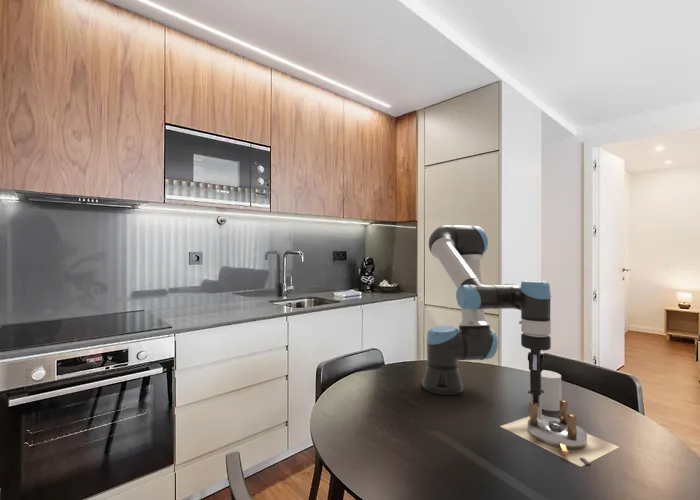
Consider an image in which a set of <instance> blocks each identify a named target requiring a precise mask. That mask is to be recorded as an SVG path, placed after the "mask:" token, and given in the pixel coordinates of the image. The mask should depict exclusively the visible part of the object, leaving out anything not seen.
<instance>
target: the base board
mask: <svg viewBox="0 0 700 500" xmlns="http://www.w3.org/2000/svg"><path fill="white" fill-rule="evenodd" d="M542 417H547V416H546V415H544V414H542ZM529 419H530V415H528V416H526V417H523V418H520V419H517V420H514V421H511V422H508V423H505V424H502V425H500V426H499V427H501V428H502V429H504V430H506V431H509V432H510V433H513V434H514V435H517V436H518V437H520V438H522V439H524V440H527V441H529V442H530V443H532V444H534V445H536V446H538V447H540V448H542V449H544V450H546V451H547V452H550V453H552V454H554V455H556V456H558V457H560V458H562V459H564V460H565V461H567V462H569V463H572V464H574V465H575V466H578V467H580V468H582V467H584V466H591V462H593V461H595V460H597V459H600V458H602V457H603V456H605V455H608V454H609V453H611V452H613V451H615V450H617V449H619V448H620V446H619V445H615V444H614V443H611V442H609V441H606V440H604V439H601V438H599V437H597V436H594V435H592V434H589V433H587V432H586V434H587V445H586V446H585V447H583V448H580V449H567V450H568V455H567V454H563V453H562V451H561V448H559V447H555V446H551V445H548V444H546V443H543V442H541V441H539V440H537V439H536V438H534V437H533V436H532V435H531V434H530V433H529V432H528V420H529Z"/></svg>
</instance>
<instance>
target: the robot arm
mask: <svg viewBox="0 0 700 500" xmlns="http://www.w3.org/2000/svg"><path fill="white" fill-rule="evenodd" d="M488 246H489V239H488V235H487V233H486V231H485V230H484V229H483V228H482V227H481V226H478V225H470V224H469V225H448V224H445V225H441V226H439V227H437V228H436V229H435V230H433V232H431V235H430V236H429V238H428V248H429V251H430V253H431V255H432V256H433V258H435V259H438V260H439V263H440V264H441V265H442V267H443V269H444V270H445V272H446V273H447V275H448V276H449V278H450V279H451V281H452V282H453V284H454V285H455V287H456V292H455V296H456V297H455V298H456V300H457V301H456V302H457V305H458V307H460V308H461V319H462V320H461V322H460V323H459V324H458V327H457V326H454V325H439V326H434V327H432V328H430V329H428V330H427V334H426V336H427V337H426V366H427V367H426V370H425V372H424V377H423V378H422V388H423V389H424V390H425V391H427V392H429V393H432V394H434V395H435V394H436V395H441V396H455V395H459V394H461V393H462V392H463V391H464V383H463V381H462V378H461V374H460V372H459V371H460V370H459V361H484V360H490V359H493V358H494V356H495V355H496V353H497V352H498V347H499V339H498V336H497V335H496V334H497V333H496V332H495V330H494V329H492V328H491V326H490V323H488V321H486V315H485V310H489V309H491V310H498V309H500V310H501V309H502V310H503V309H504V310H505V309H512V310H513V309H514V310H518V311H520V315H521V316H520V318H521V320H519V321H518V324H519V325H521V326H520V328H521V329H520V330H521V332H522V333H521V334H520V339H521V341H520V343H521V344H520V345H521V346H522V347H523V348H525V349H528V350H530V351H529V352H528V354H527V360H528V370H529V378H530V379H529V381H530V383H529V385H530V387H529V388H530V390H527V393H528V394H530V402H536V403H537V404H538V417H539V418H541V417H542V415H543V413H542V412H543V411H542V410H543V409H542V400H541V393H544V390H541V387H542V385H541V372H542V370H544V369H543V367H544V360H545V359H544V358H545V357H544V356H545V355H544V353H541V351H549V350H550V349H551V346H552V344H551V341H552V340H551V339H552V337H551V336H550V335H551V334H552V325H551V324H552V320H551V298H552V295H551V286H550V283H549V282H548V281H545V280H534V279H533V280H531V279H530V280H529V279H528V280H522V281H521V283H520V285H518V284H514V283H503V284H483V283H482V274H481V262H480V261H481V260H482V259H483V258H484V253H486V252H487V250H488Z"/></svg>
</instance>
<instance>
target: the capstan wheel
mask: <svg viewBox="0 0 700 500" xmlns="http://www.w3.org/2000/svg"><path fill="white" fill-rule="evenodd" d="M529 416H530V419H529V420H528V432H529V433H530V434H531V435H532V436H533V437H534V438H536V439H537V440H539V441H541V442H543V443H546V444H548V445H551V446H555V447H559V448H561V451H562V453H563V454H567V455H568V450H567V449H580V448H583V447H585V446H586V445H587V434H588V433H587V432H586V431H585V429H583V428H582V427H581V426H579V425H577V415H576V414H574V413H569V401H568V400H566V399H562V400H560V411H559V418H557V417H551V416H546V417H541V418H539V417H538V404H537V403H536V402H531V401H529ZM586 433H587V434H586Z"/></svg>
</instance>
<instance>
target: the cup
mask: <svg viewBox="0 0 700 500" xmlns="http://www.w3.org/2000/svg"><path fill="white" fill-rule="evenodd" d="M541 385H542V387H541V390H544V393H541V400H542V410H544V411H548V412H560V400H563V398H562V396H563V395H562V393H563V392H562V375H561V374H560V373H558V372H555V371H552V370H546V369H542V372H541Z"/></svg>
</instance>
